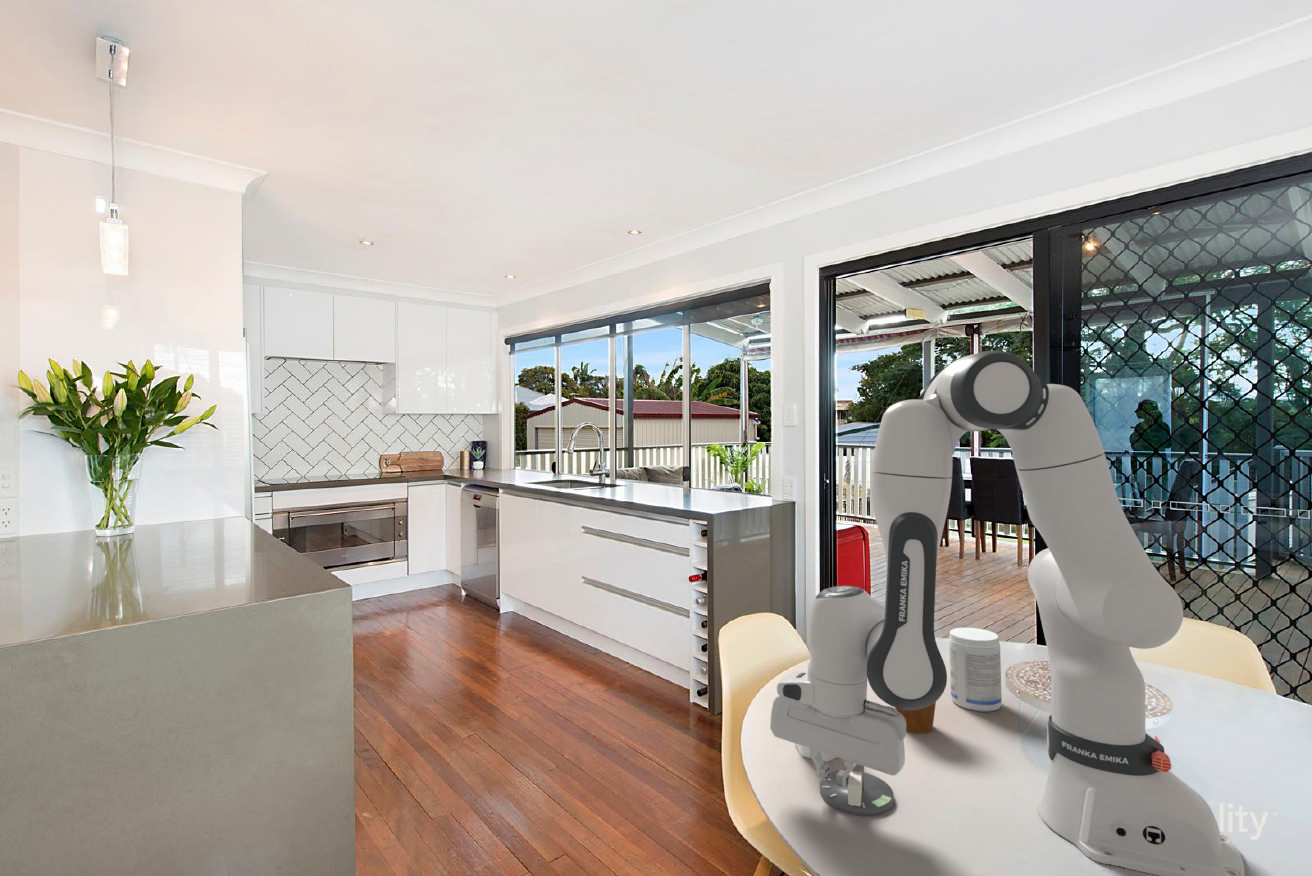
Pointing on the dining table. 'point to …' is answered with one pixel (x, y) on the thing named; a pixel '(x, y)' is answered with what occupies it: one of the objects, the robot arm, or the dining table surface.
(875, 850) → the dining table surface
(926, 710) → the disposable coffee cup
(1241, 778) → the dining table surface
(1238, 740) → the dining table surface
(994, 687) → the supplement tub
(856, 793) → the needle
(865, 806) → the dial
